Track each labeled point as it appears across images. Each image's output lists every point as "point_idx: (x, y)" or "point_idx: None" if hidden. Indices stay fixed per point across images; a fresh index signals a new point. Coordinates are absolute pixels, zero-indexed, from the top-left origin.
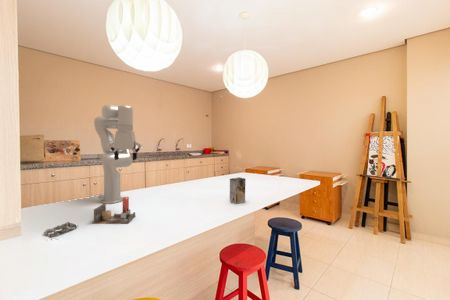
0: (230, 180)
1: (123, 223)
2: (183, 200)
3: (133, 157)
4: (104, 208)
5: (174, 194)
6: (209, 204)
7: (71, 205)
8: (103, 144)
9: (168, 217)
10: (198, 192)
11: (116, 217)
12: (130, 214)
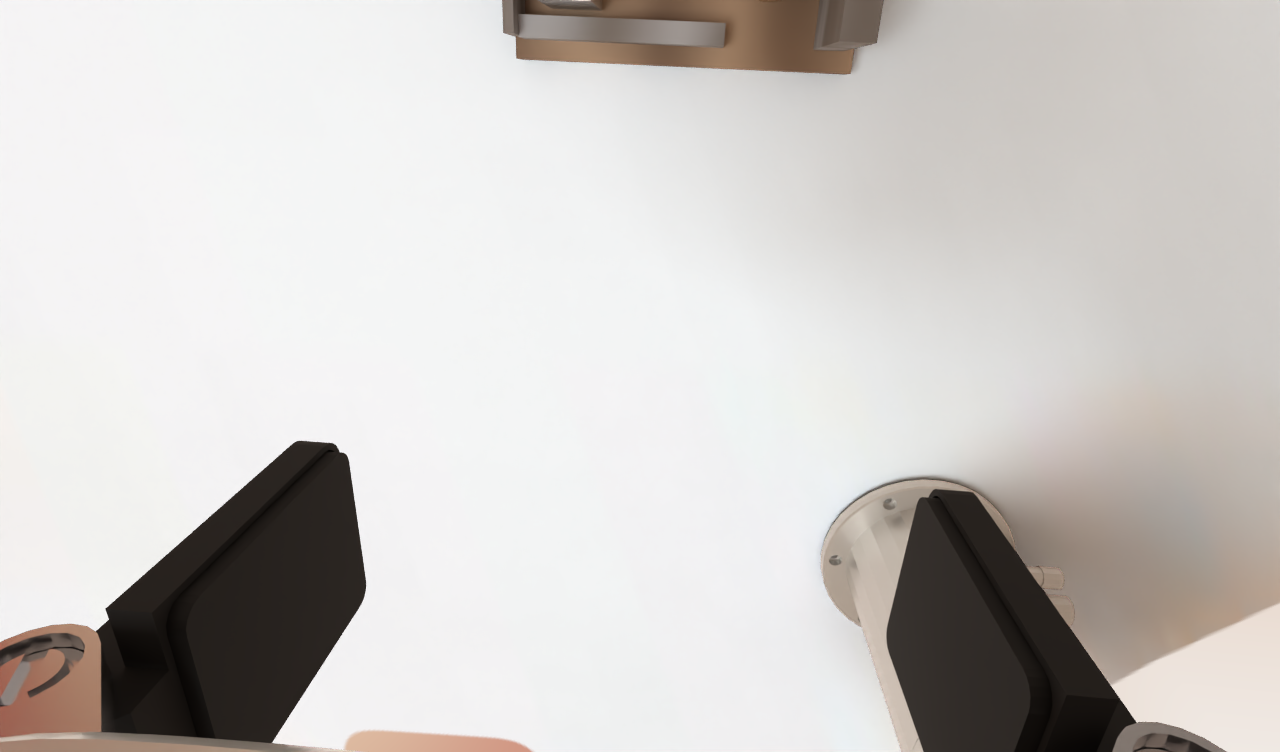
0: None
1: None
2: None
3: (266, 486)
4: (835, 13)
5: (407, 692)
6: (2, 421)
7: (1270, 456)
8: None
9: (235, 91)
10: None
11: (695, 19)
12: (546, 5)
